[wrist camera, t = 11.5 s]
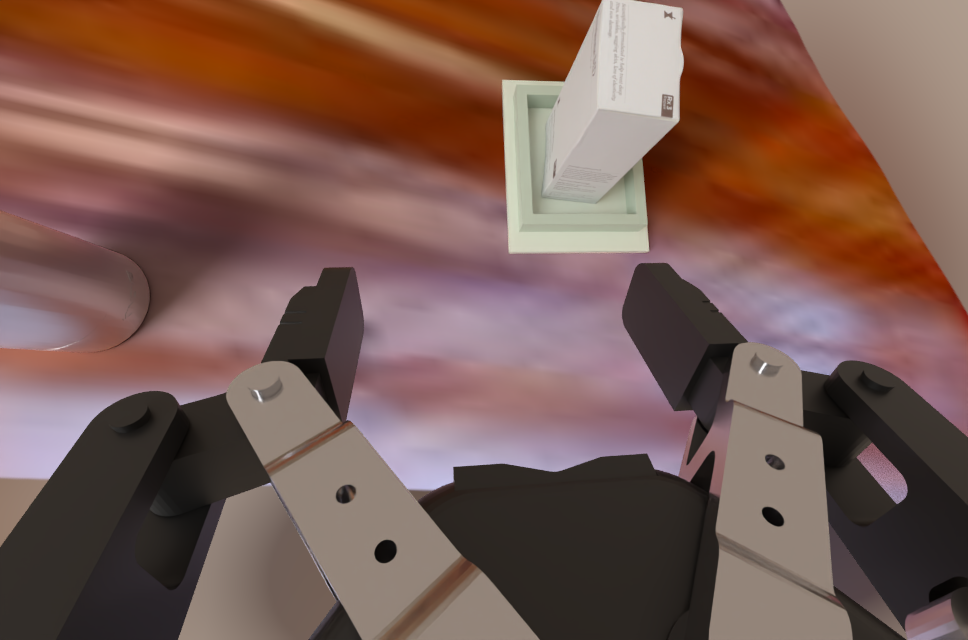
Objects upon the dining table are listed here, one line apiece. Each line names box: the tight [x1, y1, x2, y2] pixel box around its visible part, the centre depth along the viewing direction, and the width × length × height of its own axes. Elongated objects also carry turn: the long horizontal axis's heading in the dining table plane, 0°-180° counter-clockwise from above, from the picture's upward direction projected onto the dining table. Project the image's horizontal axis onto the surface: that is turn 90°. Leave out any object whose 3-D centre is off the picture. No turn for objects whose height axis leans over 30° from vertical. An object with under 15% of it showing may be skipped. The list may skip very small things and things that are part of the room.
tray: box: [502, 80, 649, 254], centre depth 40 cm, size 14×18×3 cm
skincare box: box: [541, 0, 684, 204], centre depth 33 cm, size 8×6×15 cm
